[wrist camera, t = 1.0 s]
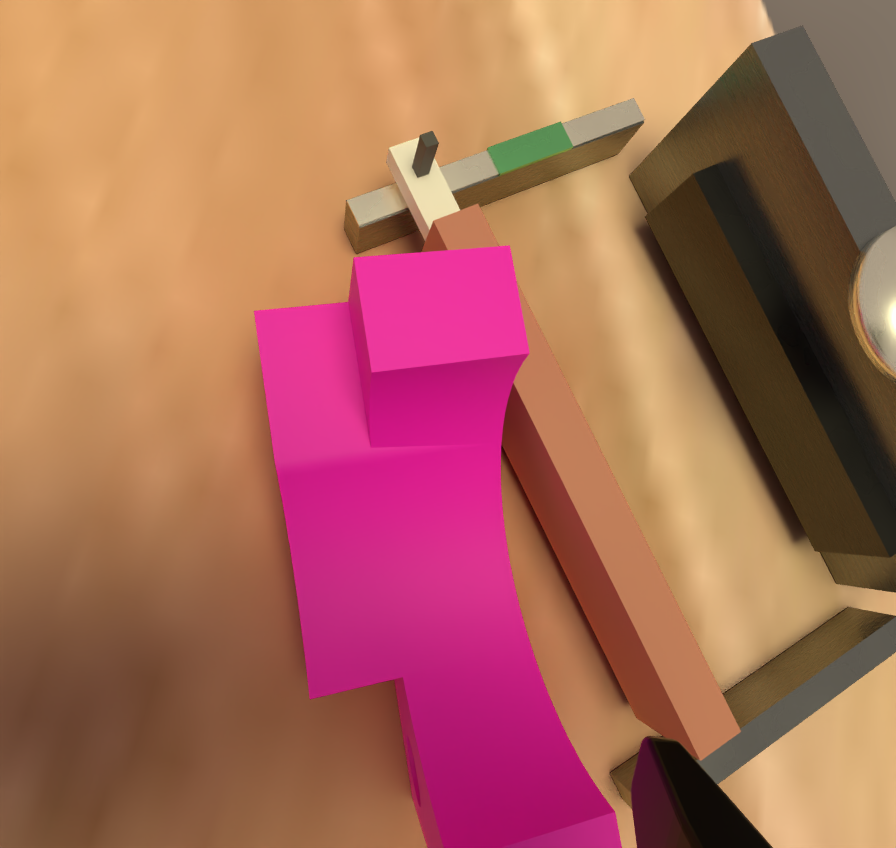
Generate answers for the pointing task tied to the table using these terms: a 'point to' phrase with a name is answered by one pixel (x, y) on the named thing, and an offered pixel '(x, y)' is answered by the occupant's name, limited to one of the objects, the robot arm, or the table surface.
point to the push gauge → (760, 322)
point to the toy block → (423, 539)
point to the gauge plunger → (582, 502)
